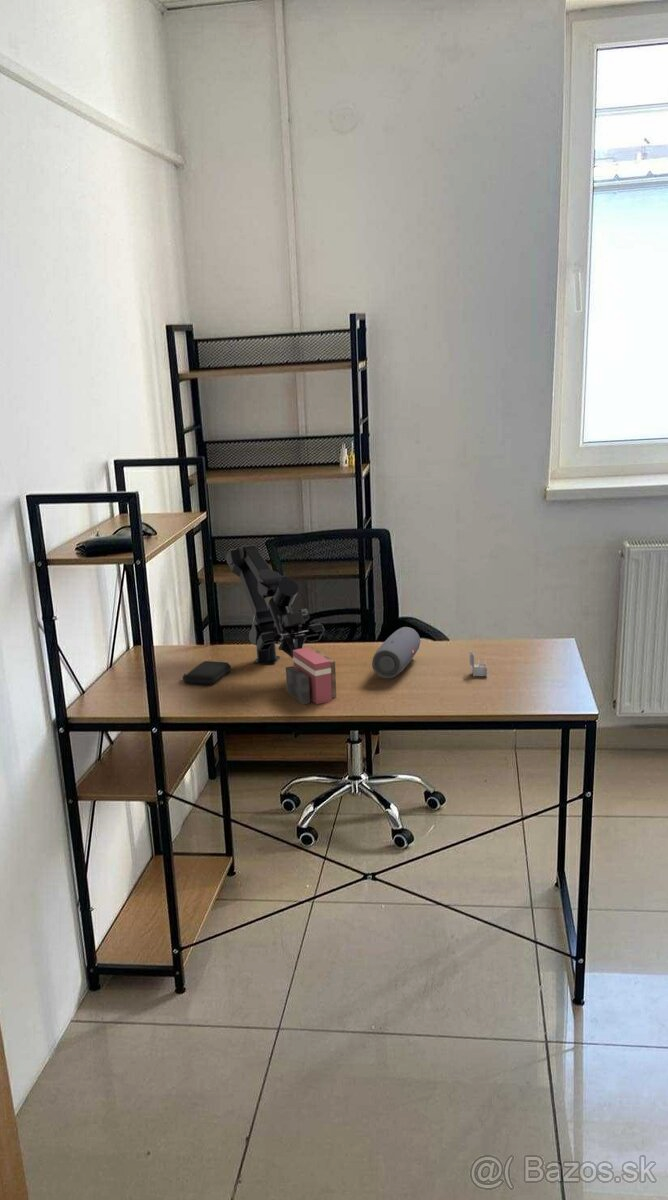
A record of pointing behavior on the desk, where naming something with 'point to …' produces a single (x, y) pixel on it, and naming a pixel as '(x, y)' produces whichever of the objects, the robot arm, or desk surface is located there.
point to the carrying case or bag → (207, 673)
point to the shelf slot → (305, 682)
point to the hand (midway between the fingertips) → (300, 663)
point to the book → (315, 673)
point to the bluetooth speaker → (396, 652)
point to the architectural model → (478, 667)
